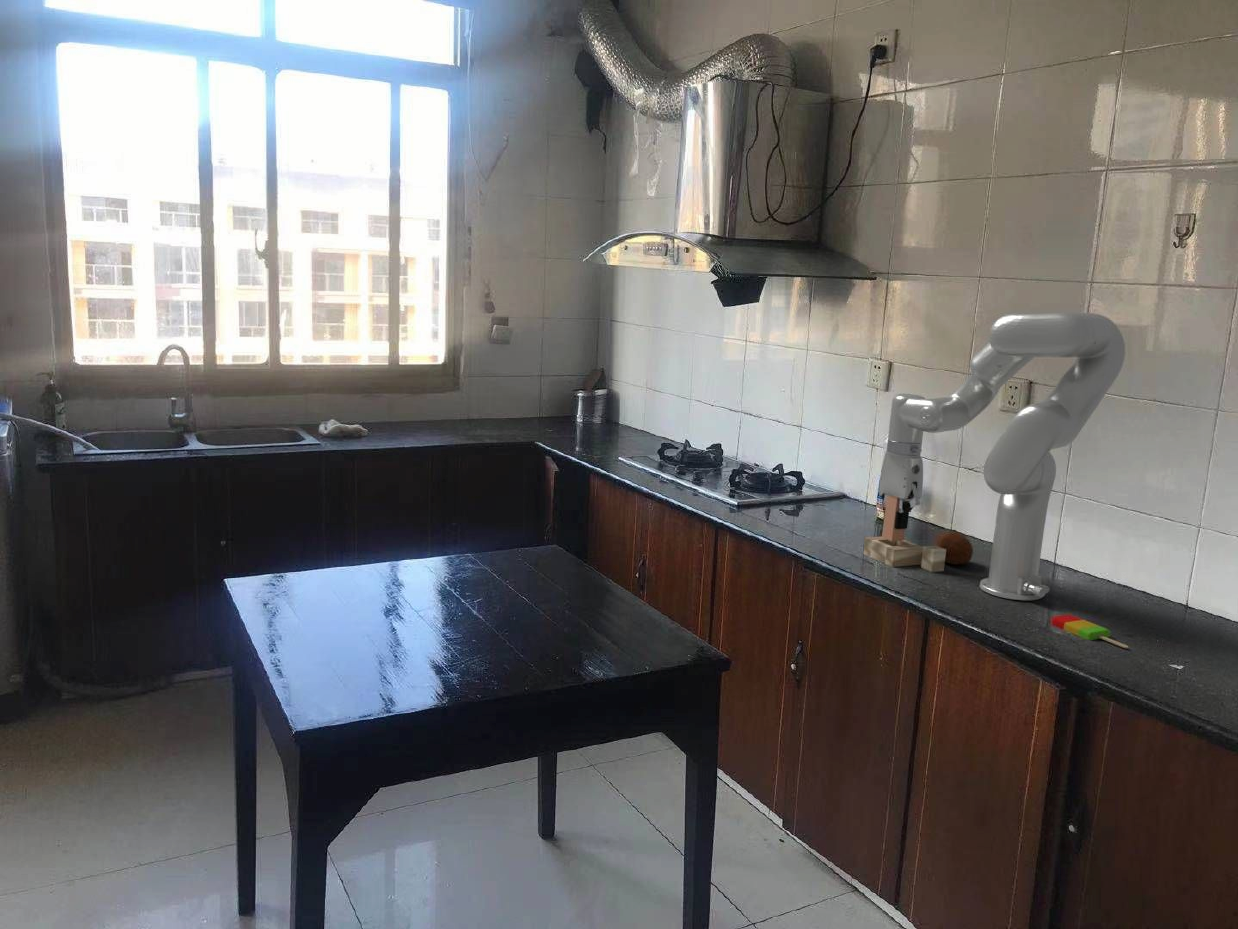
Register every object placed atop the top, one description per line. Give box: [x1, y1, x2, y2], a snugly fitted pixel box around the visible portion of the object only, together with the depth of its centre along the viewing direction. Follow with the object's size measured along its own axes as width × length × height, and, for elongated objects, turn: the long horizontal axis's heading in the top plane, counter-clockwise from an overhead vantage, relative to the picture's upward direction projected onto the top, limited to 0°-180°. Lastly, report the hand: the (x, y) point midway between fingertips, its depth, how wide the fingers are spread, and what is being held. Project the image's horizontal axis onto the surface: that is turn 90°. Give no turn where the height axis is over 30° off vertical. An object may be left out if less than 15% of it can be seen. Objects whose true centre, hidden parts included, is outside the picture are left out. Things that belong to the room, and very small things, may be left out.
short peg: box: [920, 544, 946, 573], centre depth 219 cm, size 4×4×5 cm
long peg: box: [881, 494, 906, 541], centre depth 224 cm, size 4×4×12 cm
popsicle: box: [1050, 614, 1129, 649], centre depth 182 cm, size 6×15×2 cm, turn 25°
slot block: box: [863, 536, 923, 568], centre depth 226 cm, size 10×8×4 cm
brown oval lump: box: [934, 530, 974, 565], centre depth 225 cm, size 8×11×8 cm
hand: (894, 525), depth 225 cm, fingers closed on long peg, 3 cm apart
